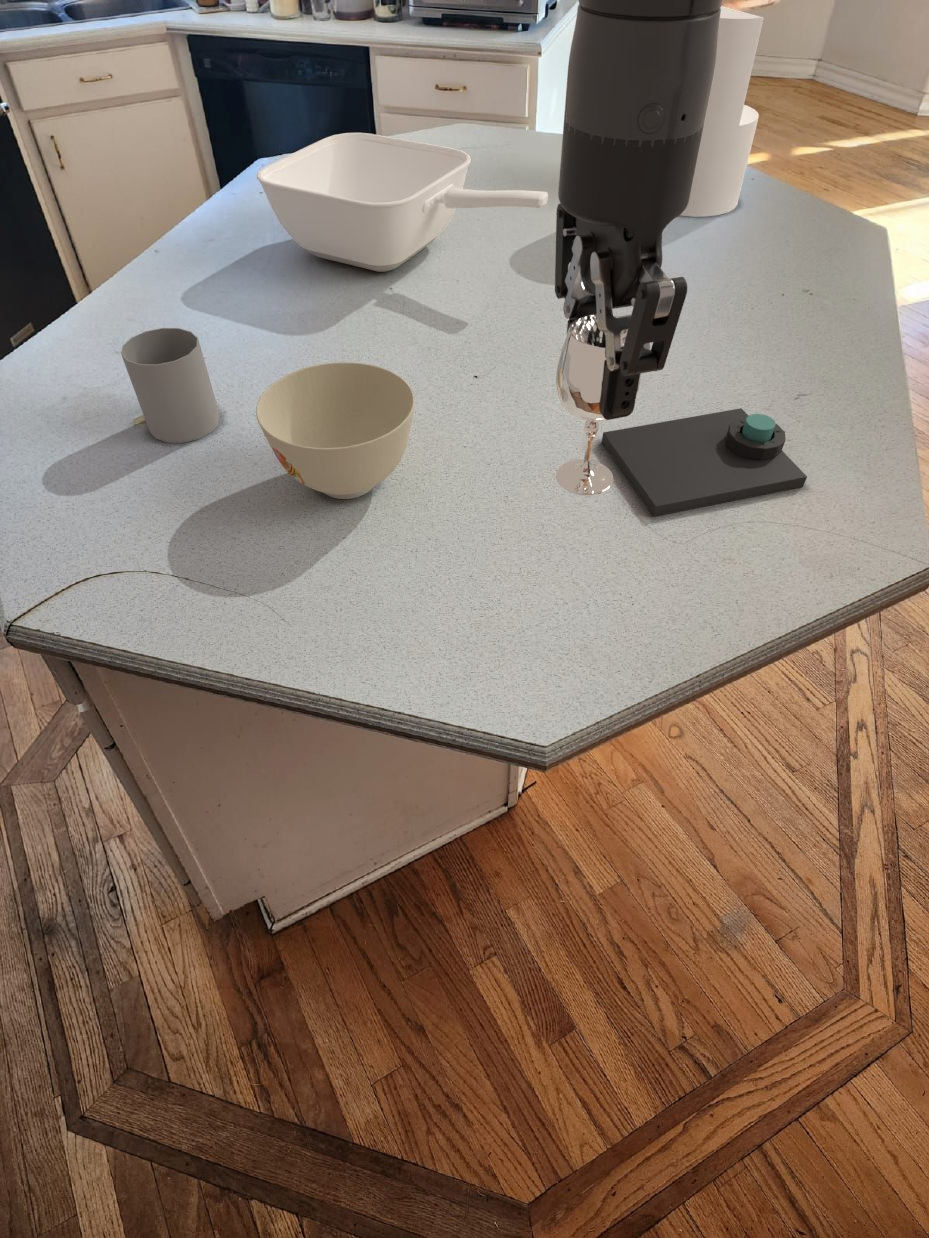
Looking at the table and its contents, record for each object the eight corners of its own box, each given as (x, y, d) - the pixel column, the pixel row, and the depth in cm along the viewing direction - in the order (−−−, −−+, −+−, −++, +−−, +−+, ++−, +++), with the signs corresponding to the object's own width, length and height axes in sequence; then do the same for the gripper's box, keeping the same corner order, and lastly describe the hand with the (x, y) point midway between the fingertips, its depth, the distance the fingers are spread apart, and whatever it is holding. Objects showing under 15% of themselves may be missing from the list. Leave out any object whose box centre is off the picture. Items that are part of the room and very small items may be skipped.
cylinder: (678, 223, 133) (717, 23, 112) (624, 191, 143) (651, 2, 123) (757, 207, 138) (808, 12, 117) (699, 177, 148) (737, -6, 127)
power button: (761, 425, 87) (765, 411, 85) (776, 440, 84) (781, 427, 83) (736, 429, 86) (740, 416, 85) (751, 445, 84) (755, 431, 83)
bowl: (267, 452, 88) (248, 374, 80) (401, 430, 91) (395, 352, 83) (284, 541, 77) (264, 461, 70) (435, 513, 80) (431, 433, 73)
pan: (352, 209, 138) (343, 124, 128) (573, 257, 124) (582, 166, 114) (258, 265, 122) (239, 173, 112) (499, 327, 108) (503, 228, 98)
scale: (742, 417, 92) (749, 395, 90) (807, 486, 83) (816, 463, 81) (601, 442, 89) (604, 420, 87) (653, 516, 80) (658, 494, 78)
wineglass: (544, 497, 57) (557, 349, 48) (550, 452, 61) (563, 307, 52) (621, 504, 57) (649, 355, 48) (622, 458, 60) (648, 313, 52)
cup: (231, 427, 91) (210, 349, 84) (166, 451, 88) (138, 373, 81) (202, 396, 96) (179, 320, 88) (139, 419, 93) (110, 342, 85)
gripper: (768, 146, 37) (693, 438, 49) (639, 74, 46) (604, 336, 59) (627, 162, 35) (586, 459, 48) (523, 84, 45) (512, 350, 57)
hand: (596, 390), depth 53 cm, fingers closed on wineglass, 6 cm apart
